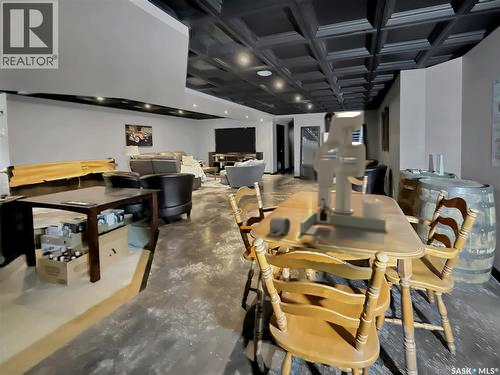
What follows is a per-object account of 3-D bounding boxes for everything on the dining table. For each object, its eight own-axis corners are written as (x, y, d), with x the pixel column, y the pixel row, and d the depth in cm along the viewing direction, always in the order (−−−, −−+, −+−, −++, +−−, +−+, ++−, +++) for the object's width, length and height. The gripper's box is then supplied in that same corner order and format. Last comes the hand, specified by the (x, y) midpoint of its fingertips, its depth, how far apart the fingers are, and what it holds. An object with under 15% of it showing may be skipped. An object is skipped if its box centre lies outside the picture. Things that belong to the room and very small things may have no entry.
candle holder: (380, 221, 150) (381, 200, 148) (382, 226, 141) (383, 203, 139) (360, 220, 154) (361, 199, 152) (361, 225, 144) (362, 202, 143)
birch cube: (319, 218, 144) (320, 207, 143) (331, 219, 141) (332, 208, 140) (317, 221, 138) (317, 209, 138) (329, 222, 136) (329, 210, 135)
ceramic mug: (276, 229, 140) (275, 214, 139) (290, 231, 136) (290, 216, 134) (265, 235, 132) (265, 219, 130) (280, 238, 127) (280, 222, 126)
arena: (312, 221, 152) (312, 212, 151) (385, 230, 135) (385, 219, 135) (300, 233, 133) (300, 222, 132) (383, 245, 116) (384, 232, 115)
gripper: (322, 181, 146) (321, 214, 149) (313, 185, 131) (312, 222, 134) (336, 182, 143) (335, 216, 145) (329, 186, 128) (328, 224, 130)
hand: (324, 218), depth 140 cm, fingers closed on birch cube, 6 cm apart
